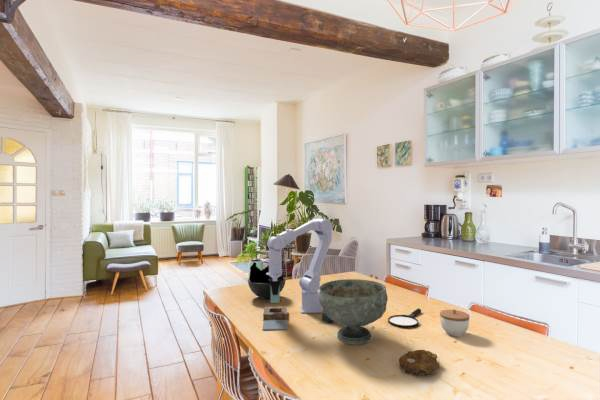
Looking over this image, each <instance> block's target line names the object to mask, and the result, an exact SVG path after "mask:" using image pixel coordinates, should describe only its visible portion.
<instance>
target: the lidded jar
mask: <svg viewBox="0 0 600 400" xmlns="http://www.w3.org/2000/svg"><path fill="white" fill-rule="evenodd" d="M439 319H440V325H441V327H442V328H443V331H445V332H446V334H447V335H449V336H452V337H462V336H463V335H465V333H466V332H467V331H468V329H469V325H470V314H468V313H467V312H466V311H465V312H464V311H463V310H457V309H442V310H441V311H440V312H439Z"/></svg>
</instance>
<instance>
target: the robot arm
mask: <svg viewBox="0 0 600 400" xmlns="http://www.w3.org/2000/svg"><path fill="white" fill-rule="evenodd" d="M333 229H334V226H333V224H332V222H331V221H330V219H327V218H325V219H323V218H320V217H319V218H318V217H317V218H313V219H311V220H309V221H307V222H306V223H304V224H301V225H300V226H298V227H297V228H295V229H291V228H286V229H285V231H283V232H281V233H277V234H276V235H275V236H273V235H272V236H270V237H269V238H268V240H267V242H266V246H267V248H268V265H269V273H266V275H269V278H270V279H269V282H270V285H271V288H272V294H273V295H278V290H279V285H280V283H281V278H282V276H281V275H282V273H283V272H282V271H283V270H282V266H283V265H282V263H283V261H282V258H283V257H282V250H283V248H284V247H285V246H286V245H289V244H291V243H292V242H294V241H296V240H297V237H298V236H301V235H304V234H306V233H308V232H310V231H314V232H315V234H316V235H317V236H318V239H319V240H318V243H317V246H316V248H315V251H314V254H313V257H312V259H311V261H310V265H309V267H308V270H306V271H305V272H304V274H303V276H301V278H300V279H299V287H300V288H301V306H300V312H301V313H302V314H309V313H311V314H313V313H314V314H315V313H316V314H317V313H323V309H322V307H321V304H320V301H319V295H320V290H319V287H320V286H321V285H320V284H321V275H320V272H321V270H322V267H323V264H324V262H325V258H326V256H327V254H328V250H329V249H330V246H331V243H332V239H333V234H332V233H333V232H332V231H333Z"/></svg>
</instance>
